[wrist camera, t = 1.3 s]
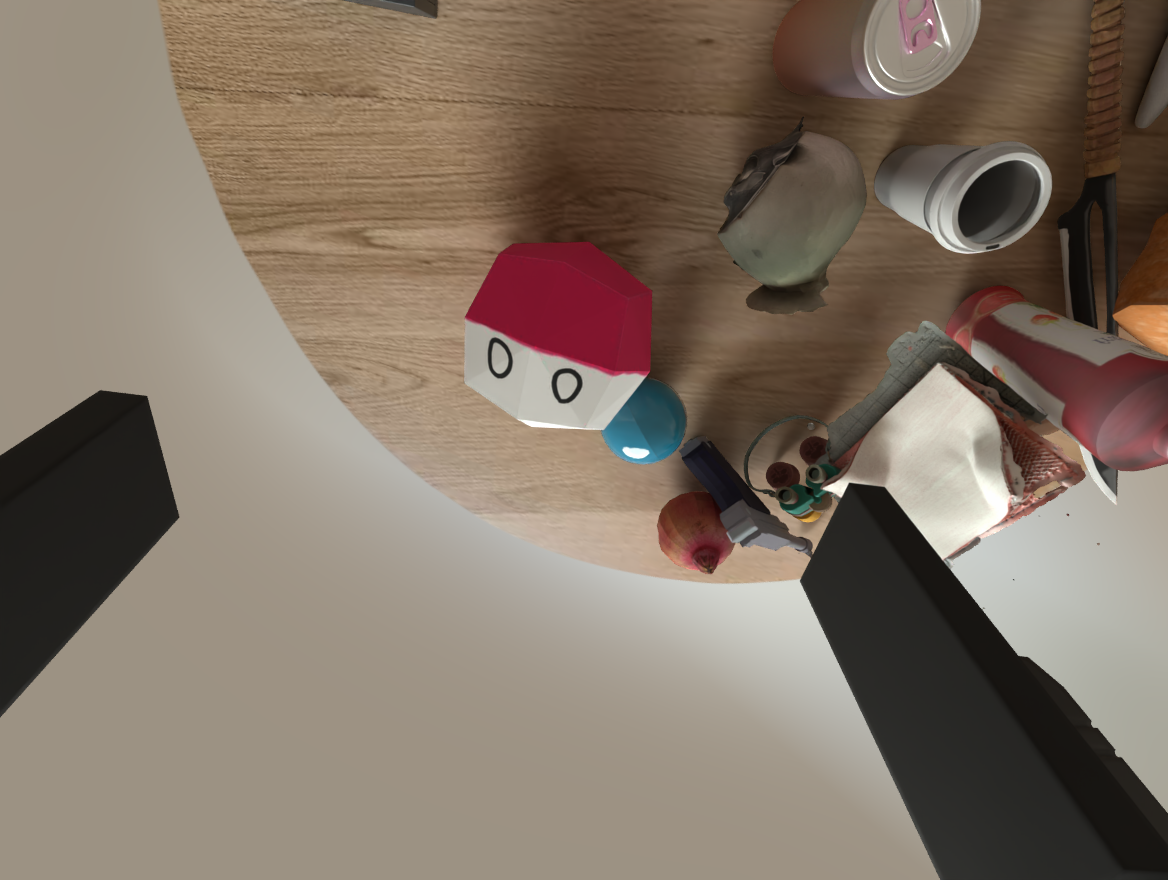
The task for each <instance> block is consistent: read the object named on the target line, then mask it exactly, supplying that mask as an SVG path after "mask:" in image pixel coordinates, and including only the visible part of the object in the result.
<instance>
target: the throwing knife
mask: <svg viewBox="0 0 1168 880" xmlns="http://www.w3.org/2000/svg"><path fill="white" fill-rule="evenodd" d="M1093 1H1094V2H1095V1H1096V4H1095V5H1094V6H1093V9H1092V13H1091V16H1092V18H1093V20H1092V21H1091V29H1092V30H1093V33H1092V34H1091V36H1090V44H1092V47H1091V48H1090V49H1089V56H1091V61H1090V62H1089V64H1088V68H1089V71H1090V72H1091V74H1092V75H1091V76H1090V77H1089V78H1088V85H1091V88H1090V89H1088V91H1087V97H1088V98H1090V99H1089V100H1088V101H1087V111H1089V112H1088V115H1087V116H1086V117H1084V118H1085V120H1084V124H1087V128H1085V130H1084V136H1086V137H1087V140H1085V141H1084V147H1085V148H1086V151H1084V153H1083V157H1084V159H1085V160H1086V163H1085V164H1084V173H1085V178H1086V180H1085V183H1084V187H1083V191H1082V194H1081V196H1080V198H1079V199H1078V201H1077V202H1076V203H1075V205H1074V206H1073V207H1072V208H1071V209H1070V210H1069V211H1068V212H1066V213H1064V214H1062V215H1061V216H1060V217H1059V219H1058V221H1057V223H1058V230H1059V233H1060V238H1061V251H1062V262H1063V273H1064V288H1065V302H1066V317H1067V318H1069V319H1072V320H1074V321H1077V322H1079V323H1082V324H1084V325H1087V326H1090V327H1092V328H1095V329H1098V325H1097V314H1096V304H1095V293H1094V284H1093V271H1092V257H1091V243H1090V216H1091V209H1092V205H1093V203H1094V202H1095V201H1096V202H1097V203H1098V205H1099V206H1100V208H1101V210H1102V215H1103V231H1104V248H1105V269H1106V288H1107V332H1106V333H1109V334H1112V335H1114V336H1117V337H1118V322H1117V321H1116V320H1114V318H1113V311H1114V308H1115V304H1116V300H1117V296H1118V250H1117V199H1116V172H1117V171H1118V170H1120V168H1121V163H1120V161H1121V158H1120V157H1118V151H1120V149H1121V142H1118V140H1119V138H1120V137H1121V136H1122V133H1121V131H1120V130H1118V128H1119V127H1121V118H1119V116H1120V115H1121V111H1122V106H1120V105H1119V102H1120V101H1121V100H1122V93H1121V92H1119V90H1120V89H1121V87H1122V85H1123V83H1122V79H1121V80H1119V78H1120V75H1121V74H1122V72H1123V67H1122V65H1120V62H1121V61H1122V60H1123V58H1124V52H1123V51H1121V50H1120V48H1121V47H1122V46H1123V42H1124V39H1123V38H1120V37H1121V35H1122V34H1123V32H1124V29H1125V24H1121V20H1122V19H1123V18H1124V17H1125V13H1124V10H1125V8H1124V7H1123V6H1121V5H1122V4H1123V3H1124V0H1093ZM1079 446H1080V449H1081V452H1082V455H1083V458H1084V461H1085V464H1086V466H1087V468H1088V470H1089V472H1090V474H1091V476H1092V478H1093V480H1094V481H1095V482H1096V484H1097V485H1098V486H1099V487H1100V489H1101V490H1102V492H1103V493H1104V494H1105V495H1106V496H1107V497H1108V498H1109V499H1110V500H1111V501H1112V502H1113V503H1114V504H1115V505H1117V477H1118V470H1116V469H1113V468H1111V467H1109V466H1107V465H1105V464H1104V463H1103V462H1101V461H1100V460H1099V459H1098V458H1096V457H1095V456H1094V455H1093V454H1091V453H1090V452H1089V451H1087V450H1086V449H1085V448H1084V447H1082V446H1081V445H1080V444H1079Z"/></svg>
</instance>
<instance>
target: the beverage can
mask: <svg viewBox="0 0 1168 880" xmlns="http://www.w3.org/2000/svg"><path fill="white" fill-rule="evenodd" d="M980 14H981V0H801V1H799V2H798V3H797V4H796V5H795V6H793V7H792V8H791V9H790V11H789V12H788V13H787V14H786V16H785V17H784V19H783V20H782V22H781V24H780V26H779V28H778V30H777V33H776V36H775V39H774V44H773V65H774V69H775V72H776V75H777V77H778V79H779V81H780V82H781V83H782V85H783V86H784V87H785V88H787V89H788V90H789V91H791V92H793V93H795V94H798V95H804V96H825V97H847V98H869V99H893V100H896V99H904V98H908V97H911V96H914V95H916V94H919V93H922V92H925V91H927V90H929V89H931V88H933V87H935V86H936V85H938V84H939V83H941V82H942V81H943V80H945V79H946V78H947V77H948V76H949V75H950V74H951V73H952V72H953V71H954V70H955V69H956V68H957V67H958V65H959V64H960V63H961V62H962V60H963V59H964V57H965V56H966V54H967V52H968V51H969V49H970V47H971V45H972V43H973V40H974V38H975V35H976V32H977V29H978V25H979V21H980Z"/></svg>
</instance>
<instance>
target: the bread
mask: <svg viewBox="0 0 1168 880" xmlns="http://www.w3.org/2000/svg"><path fill="white" fill-rule="evenodd" d="M1113 318H1114V320H1116V321H1117V322H1118V325H1119V326H1120V327H1121V328H1123V329H1124V330H1125V331H1127V332H1128V333H1129V334H1131V335H1132V336H1133V337H1135V338H1136V339H1137V340H1139V341H1140V342H1141V343H1143V344H1144V345H1146V346H1147V347H1149V348H1150V349H1152V350H1154V351H1156V352H1159V353H1161V354H1164V355H1166V356H1168V212H1167V213H1166V214H1164V215H1163V216H1161V217H1160V218H1158V219H1157V220H1156V222H1155V224H1154V227H1153V229H1152V232H1151V235H1150V237H1149V240H1148V242H1147V245H1146V247H1145V248H1144V250H1143V251H1142V253H1141V254H1140V256H1139V257H1138V259H1137V260H1136V262H1135V263H1134V265H1133V266H1132V267H1131V269H1130V270H1129V272H1128V273H1127V275H1126V276H1125V278H1124V279H1123V281H1122V282H1121V285H1120V288H1119V292H1118V296H1117V300H1116V304H1115V308H1114V311H1113Z"/></svg>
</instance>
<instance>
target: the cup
mask: <svg viewBox="0 0 1168 880" xmlns="http://www.w3.org/2000/svg"><path fill="white" fill-rule="evenodd" d="M874 188H875V194H876V196H877V198H878V200H879V201H880V202H881V203H882V204H883V205H884V206H886V207H888V208H890V209H892V210H894V211H895V212H896V213H897V214H898V215H899V216H901V217H902V218H904V219H906V220H908V221H909V222H911V223H913V224H915V225H917V226H918V227H920V228H922V229H924V230H926V231H928V232H929V233H931V234H933V235H934V237H935V238H936V240H937V241H938V242H939V243H940V244H941V245H942V246H943V247H945V248H947V249H948V250H951V251H954V252H957V253H966V254H971V253H981V252H985V251H992V250H996V249H1000V248H1003V247H1005V246H1007V245H1009V244H1011V243H1013V242H1015V241H1016V240H1018V239H1019V238H1021V237H1022V236H1023V235H1024V234H1026V233H1027V232H1028V231H1029V230H1030V229H1031V228H1032V227H1033V226H1034V225H1035V224H1036V223H1037V221H1038V220H1039V218H1040V217H1041V216H1042V214H1043V212H1044V210H1045V208H1046V207H1047V205H1048V202H1049V199H1050V196H1051V190H1052V176H1051V172H1050V170H1049V167H1048V166H1047V164H1046V162H1045V160H1044V159H1043V157H1042V156H1041V155H1040V153H1038V152H1037V151H1036V150H1035V149H1033V148H1032V147H1030V146H1028V145H1026V144H1024V143H1020V142H1014V141H1004V142H997V143H993V144H990V145H987V146H969V145H945V144H938V145H931V146H921V145H909V146H904V147H901V148H899V149H897V150H895V151H894V152H893V153H891V154H890V155H889V156H888V157H887V158H886V159H885V160H884V161H883V163H882V164H881V166H880V167H879V169H878V171H877V174H876V177H875V183H874Z"/></svg>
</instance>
